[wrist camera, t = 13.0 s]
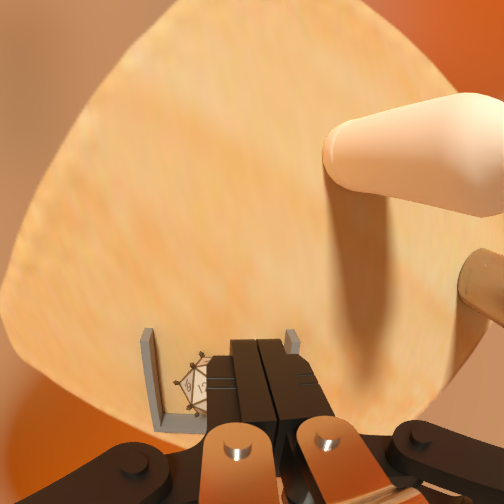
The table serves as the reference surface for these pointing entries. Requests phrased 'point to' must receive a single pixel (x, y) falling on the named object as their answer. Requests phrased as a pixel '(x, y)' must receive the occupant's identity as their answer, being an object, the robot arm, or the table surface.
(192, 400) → the game die
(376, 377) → the table surface
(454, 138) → the bottle
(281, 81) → the table surface
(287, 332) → the bay
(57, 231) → the table surface
